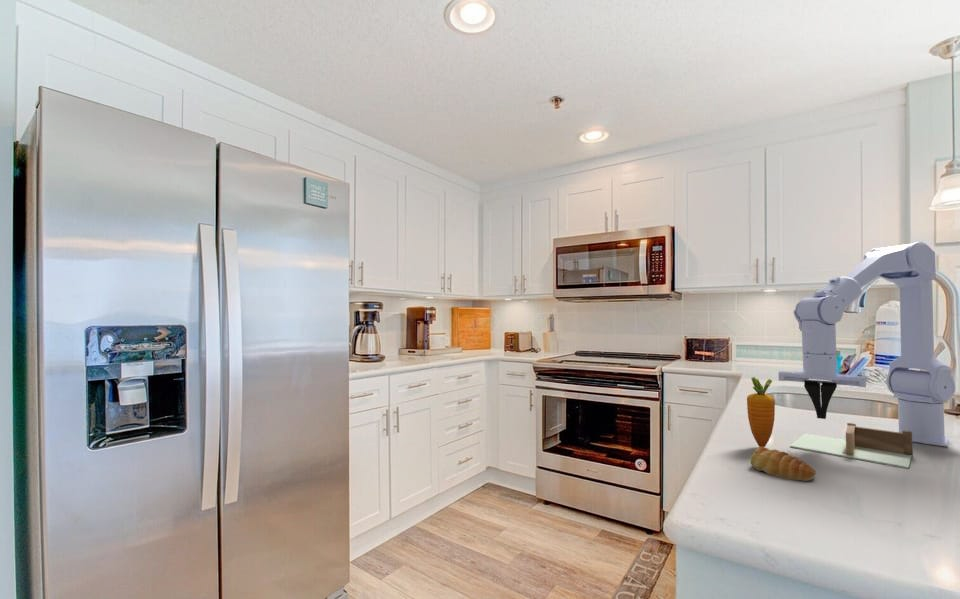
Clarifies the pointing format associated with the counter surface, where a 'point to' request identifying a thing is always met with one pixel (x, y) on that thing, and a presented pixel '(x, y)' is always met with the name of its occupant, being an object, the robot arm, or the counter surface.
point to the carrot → (761, 412)
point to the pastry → (781, 464)
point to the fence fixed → (884, 440)
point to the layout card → (860, 453)
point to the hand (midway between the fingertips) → (821, 417)
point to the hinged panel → (850, 439)
